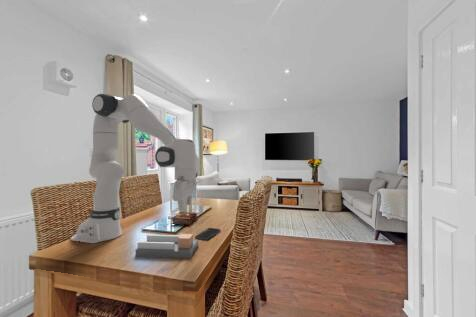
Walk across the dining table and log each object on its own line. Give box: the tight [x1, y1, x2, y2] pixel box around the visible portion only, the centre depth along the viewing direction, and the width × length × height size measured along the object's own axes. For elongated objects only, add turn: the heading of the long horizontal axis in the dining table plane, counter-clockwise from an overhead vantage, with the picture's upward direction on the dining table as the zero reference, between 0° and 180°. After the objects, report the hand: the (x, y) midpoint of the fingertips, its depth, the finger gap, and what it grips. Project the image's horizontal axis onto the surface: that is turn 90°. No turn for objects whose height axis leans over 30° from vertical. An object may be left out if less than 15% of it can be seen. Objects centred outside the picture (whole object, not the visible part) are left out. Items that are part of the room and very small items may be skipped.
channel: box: [135, 234, 199, 259], centre depth 92 cm, size 23×12×5 cm, turn 86°
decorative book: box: [171, 211, 198, 226], centre depth 132 cm, size 11×16×5 cm
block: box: [178, 233, 194, 248], centre depth 91 cm, size 5×5×4 cm
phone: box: [194, 227, 221, 242], centre depth 111 cm, size 8×1×15 cm
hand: (185, 207), depth 91 cm, fingers open, 8 cm apart
